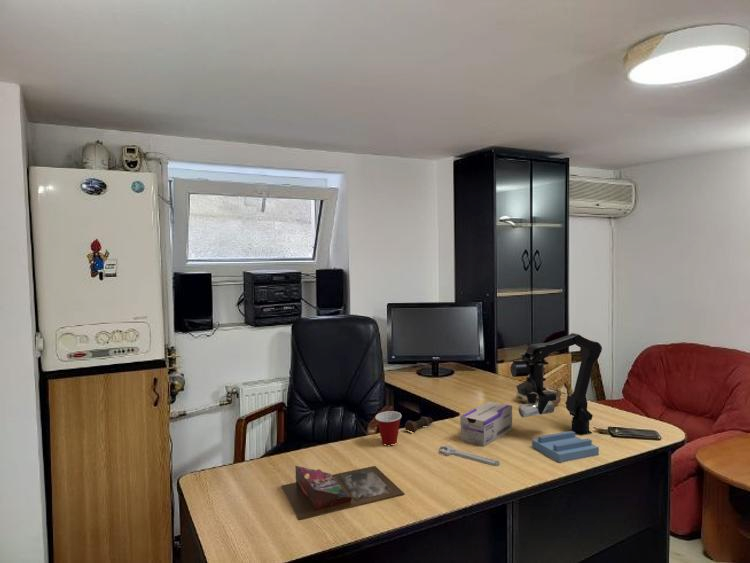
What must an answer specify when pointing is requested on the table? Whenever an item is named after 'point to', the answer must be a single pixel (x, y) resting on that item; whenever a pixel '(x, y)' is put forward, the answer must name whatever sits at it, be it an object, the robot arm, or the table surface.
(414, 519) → the table surface
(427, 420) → the bolt
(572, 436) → the cradle
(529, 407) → the axle
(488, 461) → the adjustable wrench
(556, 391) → the petrified wood
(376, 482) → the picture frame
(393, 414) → the plastic cup
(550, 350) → the robot arm
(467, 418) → the surgical sutures box
